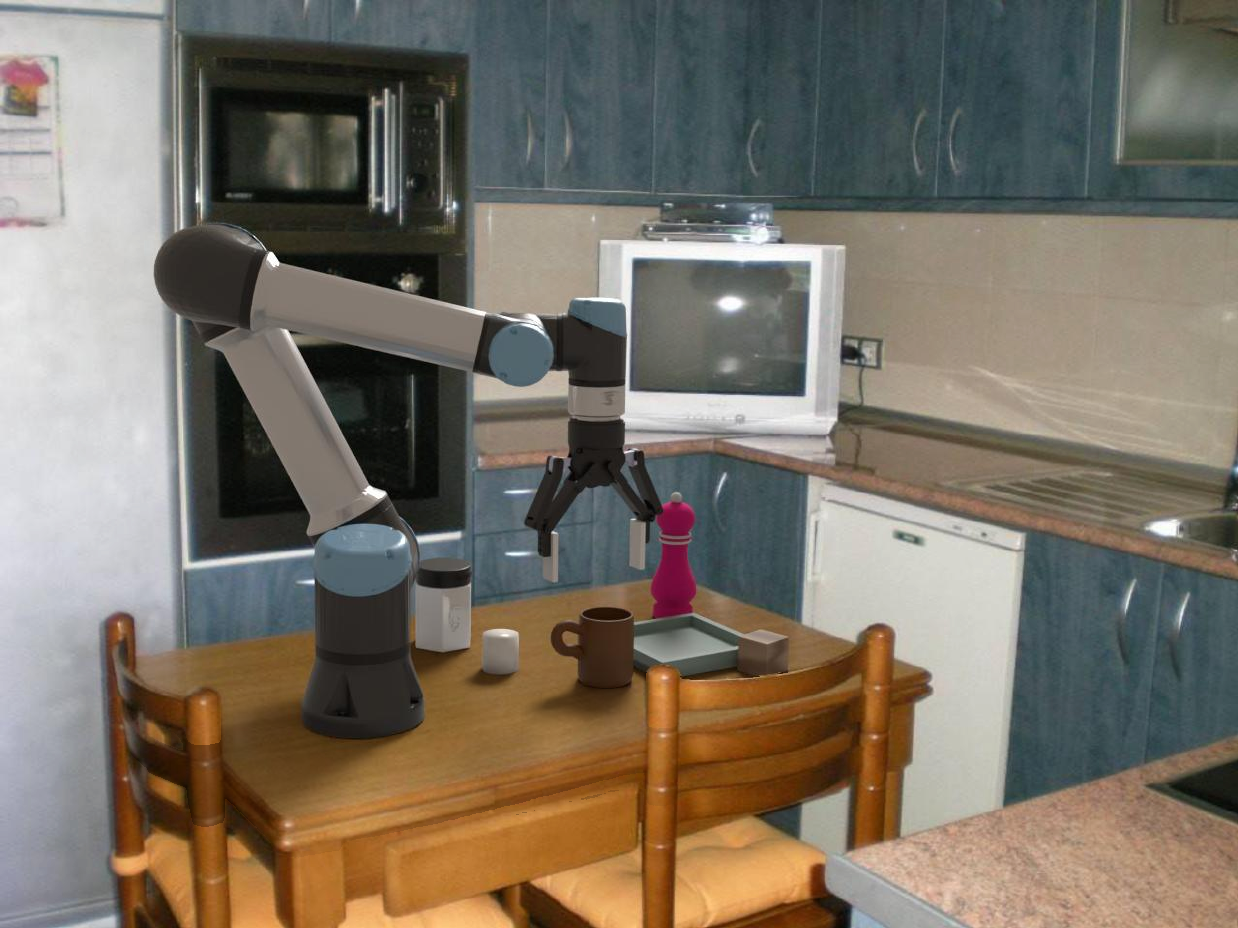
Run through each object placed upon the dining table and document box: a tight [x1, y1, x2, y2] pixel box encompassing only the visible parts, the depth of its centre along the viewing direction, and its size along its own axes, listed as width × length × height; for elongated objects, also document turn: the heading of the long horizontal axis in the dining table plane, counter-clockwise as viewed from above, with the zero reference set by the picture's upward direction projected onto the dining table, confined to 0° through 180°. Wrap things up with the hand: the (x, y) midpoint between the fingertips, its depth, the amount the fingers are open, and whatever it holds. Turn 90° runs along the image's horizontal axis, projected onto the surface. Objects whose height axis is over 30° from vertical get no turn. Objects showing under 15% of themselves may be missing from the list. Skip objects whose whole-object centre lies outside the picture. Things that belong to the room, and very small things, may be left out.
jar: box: [414, 557, 473, 653], centre depth 210 cm, size 9×8×12 cm
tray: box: [633, 612, 744, 678], centre depth 209 cm, size 18×18×2 cm
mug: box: [550, 606, 635, 689], centre depth 194 cm, size 12×8×9 cm, turn 117°
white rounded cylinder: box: [481, 628, 520, 675], centre depth 200 cm, size 5×5×5 cm
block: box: [736, 629, 790, 677], centre depth 202 cm, size 5×5×5 cm
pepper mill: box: [650, 491, 697, 619], centre depth 226 cm, size 7×7×20 cm
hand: (594, 573), depth 193 cm, fingers open, 13 cm apart
